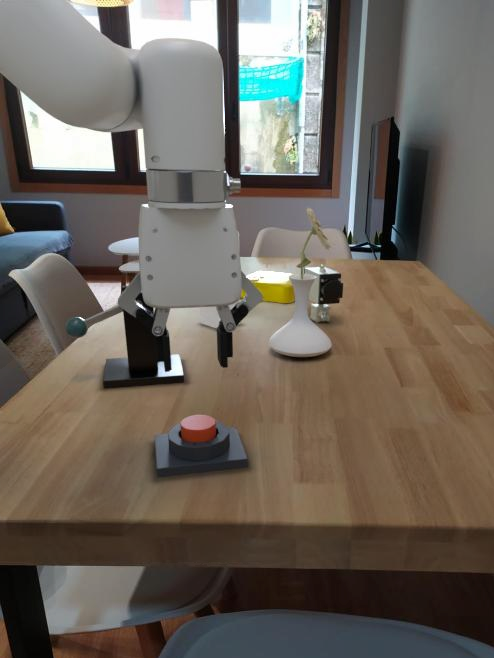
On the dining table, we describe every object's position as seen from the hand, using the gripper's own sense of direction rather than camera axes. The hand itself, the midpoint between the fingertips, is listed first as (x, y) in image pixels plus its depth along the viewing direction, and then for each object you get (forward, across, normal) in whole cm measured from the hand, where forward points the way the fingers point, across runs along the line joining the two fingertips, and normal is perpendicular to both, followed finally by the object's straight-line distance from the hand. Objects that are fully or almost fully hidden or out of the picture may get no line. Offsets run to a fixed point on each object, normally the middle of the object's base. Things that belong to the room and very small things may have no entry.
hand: (195, 363), depth 59 cm
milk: (+12, -10, -54) cm, 56 cm away
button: (+9, 0, 0) cm, 9 cm away
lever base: (+11, +6, -28) cm, 31 cm away
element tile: (+12, -27, -78) cm, 83 cm away
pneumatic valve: (+12, -32, -53) cm, 63 cm away
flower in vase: (+12, -22, -34) cm, 42 cm away
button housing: (+11, 0, 0) cm, 11 cm away
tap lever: (+3, +10, -28) cm, 30 cm away
